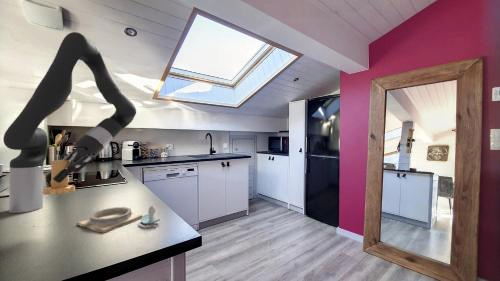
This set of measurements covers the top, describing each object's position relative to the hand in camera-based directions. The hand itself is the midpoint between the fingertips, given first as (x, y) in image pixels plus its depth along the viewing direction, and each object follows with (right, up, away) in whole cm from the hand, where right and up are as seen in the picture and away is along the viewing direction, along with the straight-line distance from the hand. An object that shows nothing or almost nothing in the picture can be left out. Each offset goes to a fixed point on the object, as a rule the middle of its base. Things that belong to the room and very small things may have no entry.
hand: (52, 180), depth 65 cm
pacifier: (+27, -17, +7) cm, 32 cm away
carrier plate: (+12, -16, +9) cm, 22 cm away
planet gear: (+1, -4, +2) cm, 5 cm away
